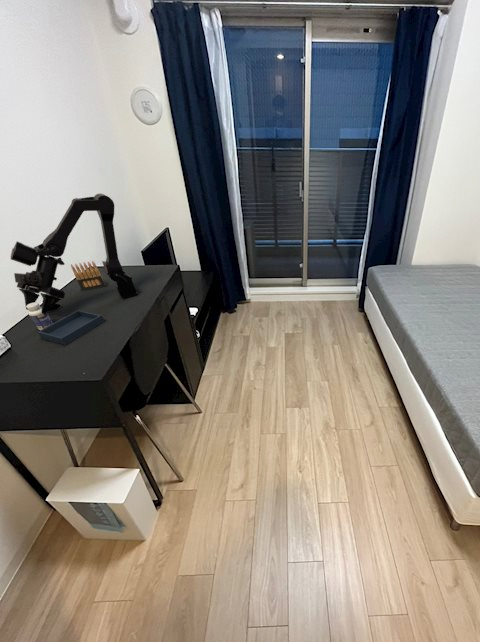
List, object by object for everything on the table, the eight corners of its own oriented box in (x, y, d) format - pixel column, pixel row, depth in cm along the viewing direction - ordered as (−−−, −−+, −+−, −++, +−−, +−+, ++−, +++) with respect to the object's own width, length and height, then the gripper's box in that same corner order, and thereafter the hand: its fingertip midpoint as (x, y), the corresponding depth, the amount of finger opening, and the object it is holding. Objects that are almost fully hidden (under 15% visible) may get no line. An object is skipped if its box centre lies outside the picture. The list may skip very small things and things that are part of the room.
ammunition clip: (81, 290, 154) (68, 265, 146) (82, 289, 155) (69, 263, 147) (106, 286, 156) (94, 261, 148) (106, 284, 157) (94, 259, 149)
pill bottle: (47, 331, 126) (32, 308, 120) (35, 330, 127) (20, 307, 121) (57, 324, 130) (43, 301, 124) (46, 323, 131) (32, 301, 125)
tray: (81, 316, 134) (78, 310, 132) (104, 321, 130) (101, 315, 128) (41, 338, 122) (37, 332, 121) (65, 345, 118) (61, 338, 116)
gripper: (5, 259, 120) (-5, 301, 120) (38, 265, 113) (27, 308, 113) (38, 272, 130) (28, 310, 130) (70, 277, 124) (60, 317, 124)
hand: (35, 311), depth 124 cm, fingers open, 9 cm apart
